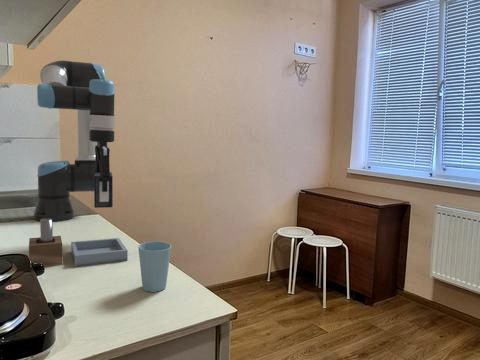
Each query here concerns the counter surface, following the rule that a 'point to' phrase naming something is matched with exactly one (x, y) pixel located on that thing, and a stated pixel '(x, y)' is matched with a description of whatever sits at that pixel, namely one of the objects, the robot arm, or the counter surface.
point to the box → (97, 192)
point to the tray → (98, 251)
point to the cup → (154, 265)
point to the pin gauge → (46, 230)
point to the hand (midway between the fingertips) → (102, 198)
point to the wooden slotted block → (45, 251)
